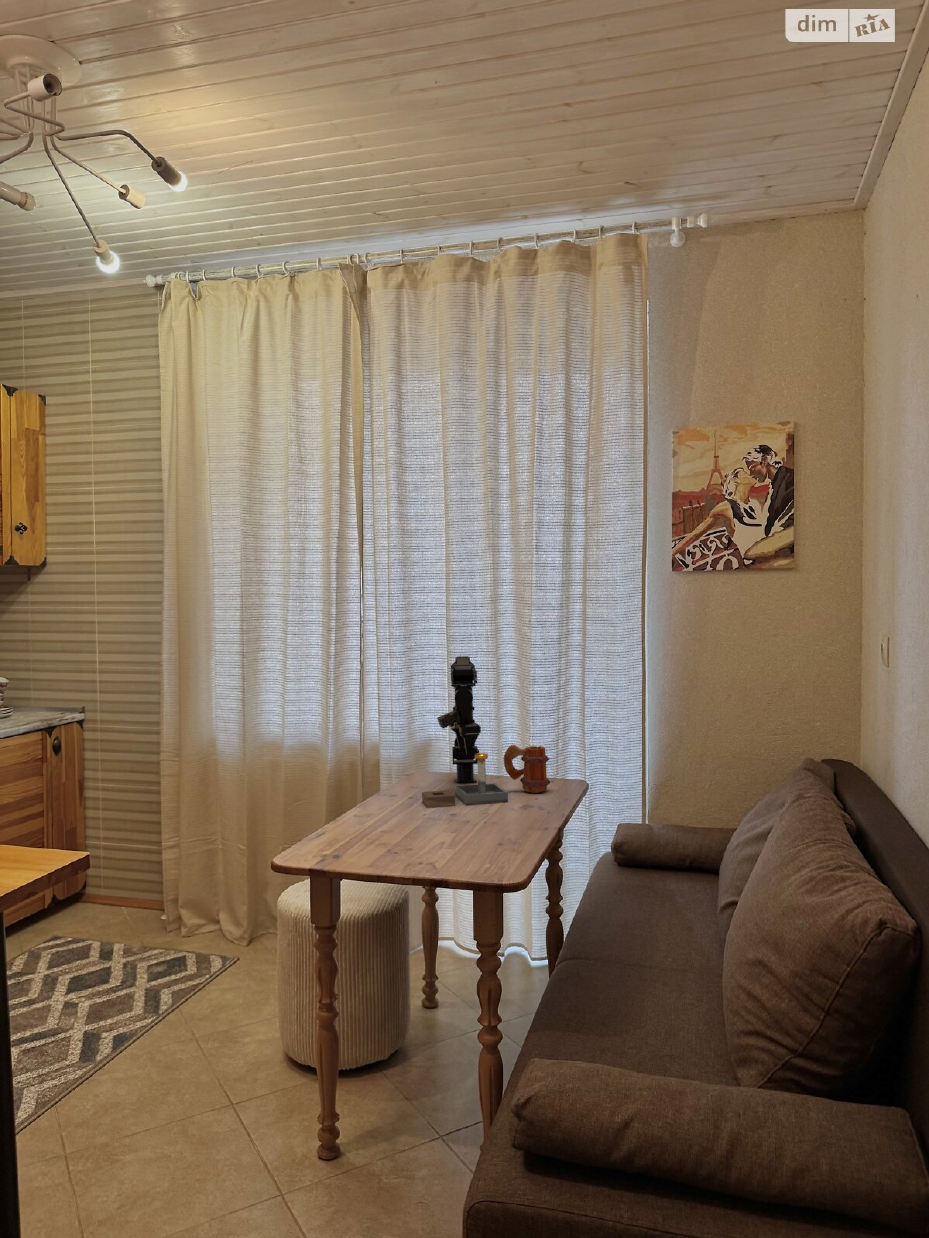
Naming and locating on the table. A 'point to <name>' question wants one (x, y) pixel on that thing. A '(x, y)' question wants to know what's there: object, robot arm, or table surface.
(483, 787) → the pin
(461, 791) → the tray
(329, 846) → the table surface
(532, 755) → the mug
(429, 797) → the hitch block
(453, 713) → the robot arm
